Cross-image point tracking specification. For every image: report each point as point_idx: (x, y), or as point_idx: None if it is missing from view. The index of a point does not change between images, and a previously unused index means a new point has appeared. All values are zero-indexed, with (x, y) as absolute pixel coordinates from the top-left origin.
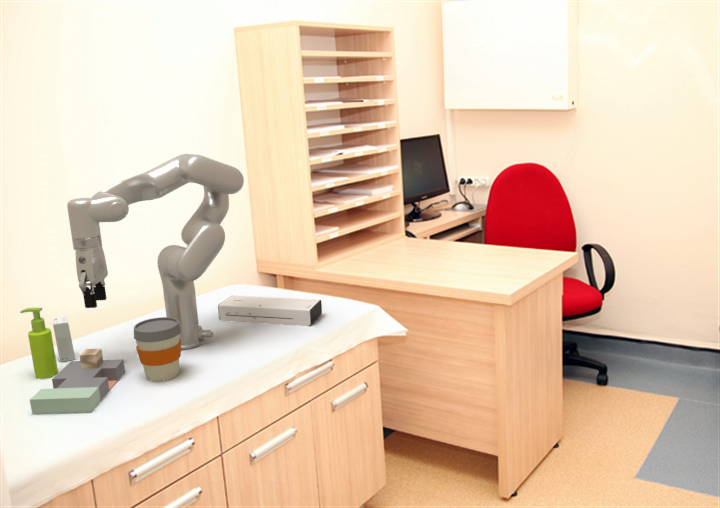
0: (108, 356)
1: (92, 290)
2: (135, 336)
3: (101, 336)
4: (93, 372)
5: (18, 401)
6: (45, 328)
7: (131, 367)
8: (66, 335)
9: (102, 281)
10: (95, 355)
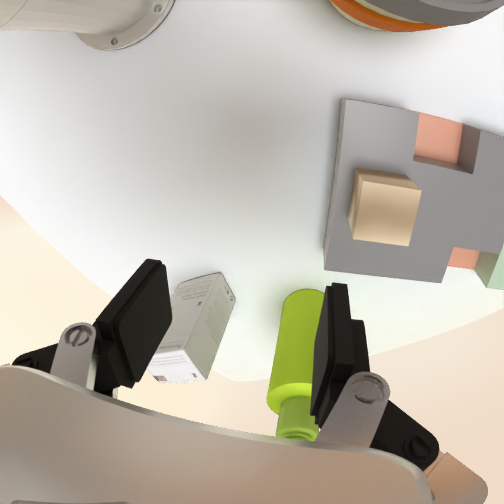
0: (203, 187)
1: (369, 408)
2: (484, 15)
3: (81, 247)
4: (438, 179)
5: (441, 317)
6: (297, 398)
7: (303, 87)
8: (204, 327)
9: (85, 369)
10: (418, 189)
